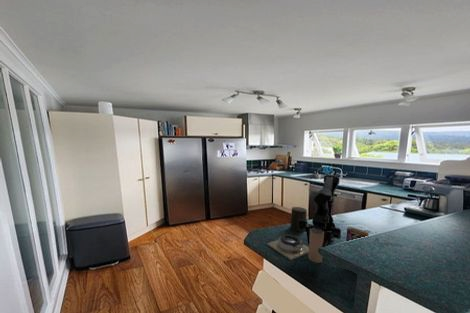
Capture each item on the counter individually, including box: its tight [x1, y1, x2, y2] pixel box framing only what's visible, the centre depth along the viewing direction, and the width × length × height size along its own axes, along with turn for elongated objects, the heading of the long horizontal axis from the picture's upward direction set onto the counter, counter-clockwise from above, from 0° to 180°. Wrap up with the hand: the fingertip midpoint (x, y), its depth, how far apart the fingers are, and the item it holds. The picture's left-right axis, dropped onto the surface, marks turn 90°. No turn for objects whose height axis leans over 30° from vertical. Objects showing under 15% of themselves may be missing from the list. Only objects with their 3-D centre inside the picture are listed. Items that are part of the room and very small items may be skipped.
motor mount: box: [267, 234, 309, 261], centre depth 113 cm, size 17×17×5 cm
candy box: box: [345, 226, 370, 242], centre depth 103 cm, size 9×4×15 cm, turn 47°
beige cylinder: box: [307, 227, 324, 264], centre depth 95 cm, size 6×6×14 cm
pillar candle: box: [289, 206, 308, 233], centre depth 138 cm, size 10×10×15 cm
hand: (315, 246), depth 94 cm, fingers closed on beige cylinder, 6 cm apart
